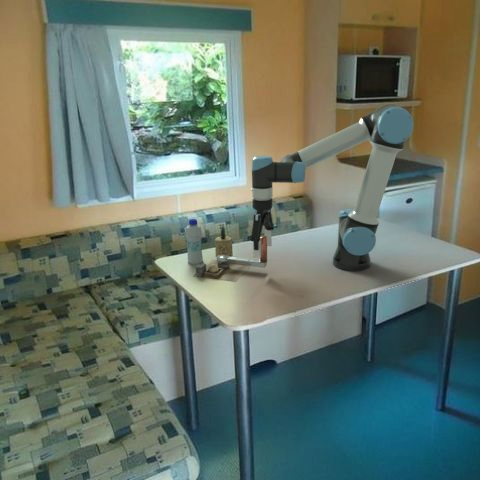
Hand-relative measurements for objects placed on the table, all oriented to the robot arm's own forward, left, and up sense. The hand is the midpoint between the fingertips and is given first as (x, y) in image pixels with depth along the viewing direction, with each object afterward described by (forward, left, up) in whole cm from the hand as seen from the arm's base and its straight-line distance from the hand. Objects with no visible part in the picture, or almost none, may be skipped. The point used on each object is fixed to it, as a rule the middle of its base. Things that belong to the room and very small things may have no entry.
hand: (262, 251), depth 189 cm
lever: (+9, 0, -6) cm, 11 cm away
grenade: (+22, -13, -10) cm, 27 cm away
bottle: (+31, -3, -10) cm, 33 cm away
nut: (+18, +7, -9) cm, 21 cm away
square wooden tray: (+16, +2, -10) cm, 19 cm away
